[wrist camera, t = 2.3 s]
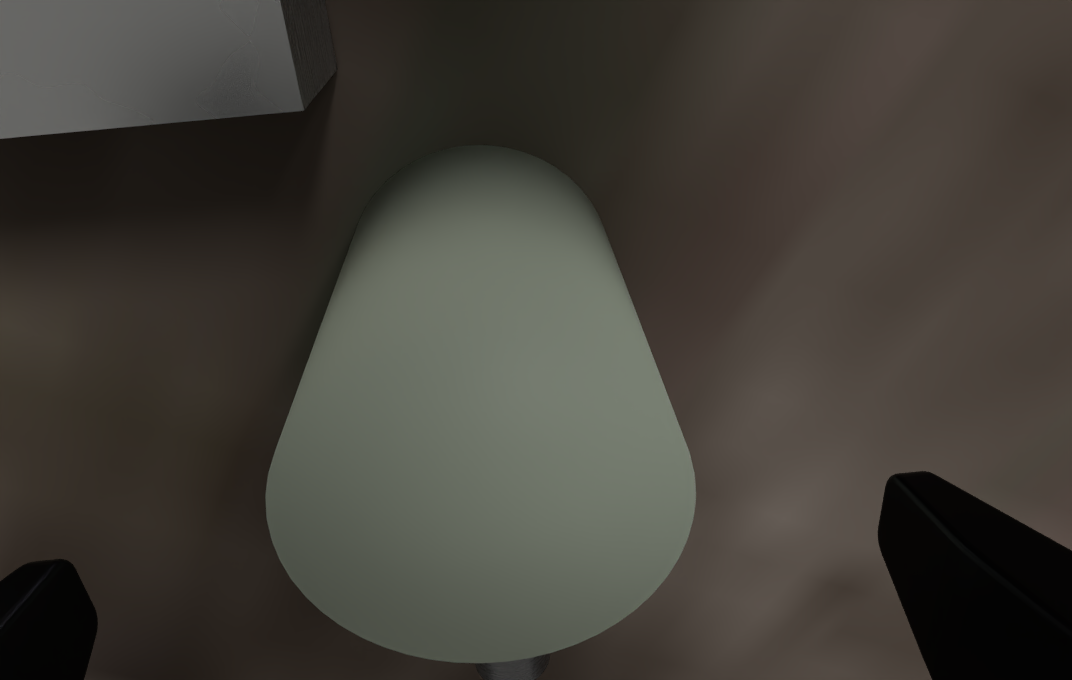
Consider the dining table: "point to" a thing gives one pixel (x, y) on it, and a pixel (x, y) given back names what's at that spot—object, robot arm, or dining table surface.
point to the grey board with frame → (157, 61)
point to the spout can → (480, 426)
